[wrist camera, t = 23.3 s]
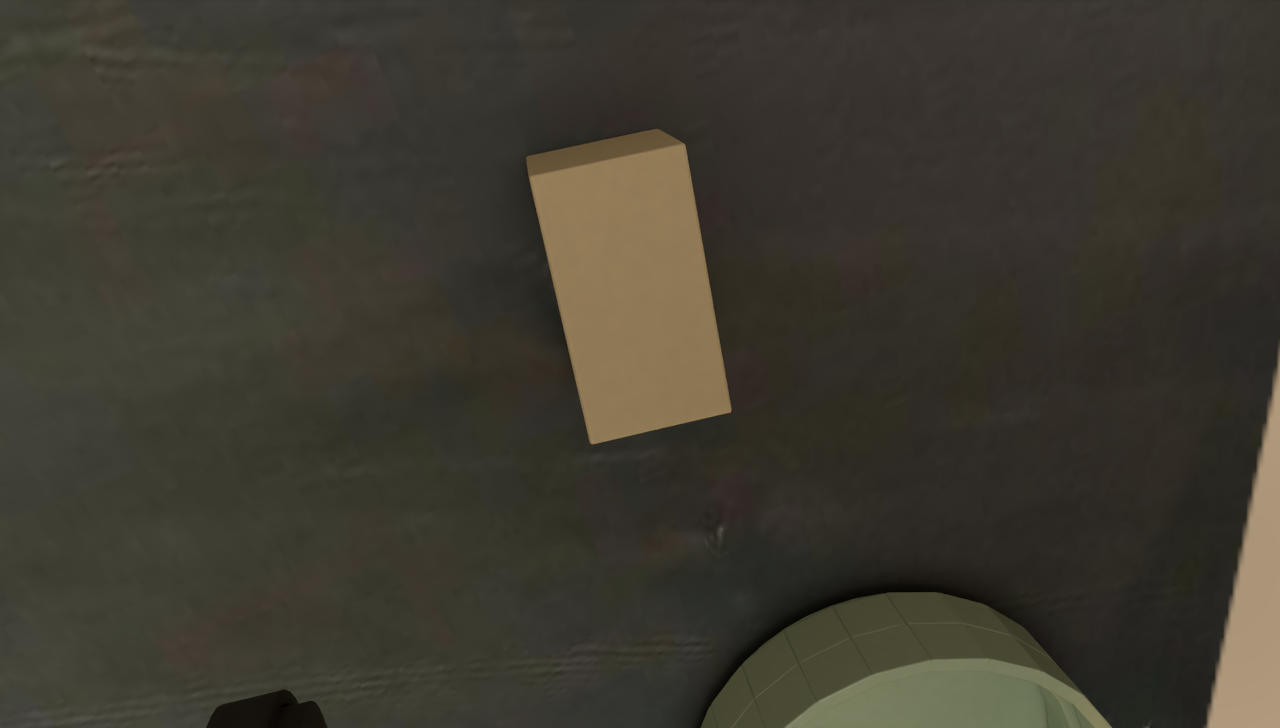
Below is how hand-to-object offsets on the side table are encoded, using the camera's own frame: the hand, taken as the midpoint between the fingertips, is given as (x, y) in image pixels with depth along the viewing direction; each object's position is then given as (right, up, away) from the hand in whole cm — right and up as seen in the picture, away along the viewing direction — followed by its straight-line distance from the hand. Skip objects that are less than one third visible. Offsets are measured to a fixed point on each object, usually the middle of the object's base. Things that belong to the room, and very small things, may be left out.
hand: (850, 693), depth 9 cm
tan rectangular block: (-2, +6, +17) cm, 18 cm away
